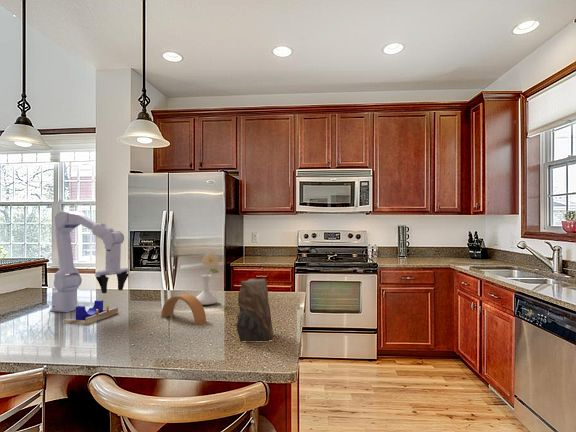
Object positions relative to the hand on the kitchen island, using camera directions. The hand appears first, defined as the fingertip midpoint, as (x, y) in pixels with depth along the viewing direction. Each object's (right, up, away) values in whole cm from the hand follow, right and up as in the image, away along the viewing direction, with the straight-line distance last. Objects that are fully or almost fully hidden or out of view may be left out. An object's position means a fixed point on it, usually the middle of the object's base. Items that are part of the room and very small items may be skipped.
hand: (112, 291), depth 155 cm
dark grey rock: (+64, -11, -28) cm, 71 cm away
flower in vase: (+36, -11, +21) cm, 43 cm away
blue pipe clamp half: (-8, -10, -5) cm, 14 cm away
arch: (+32, -11, -6) cm, 34 cm away
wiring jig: (-5, -10, -5) cm, 12 cm away
